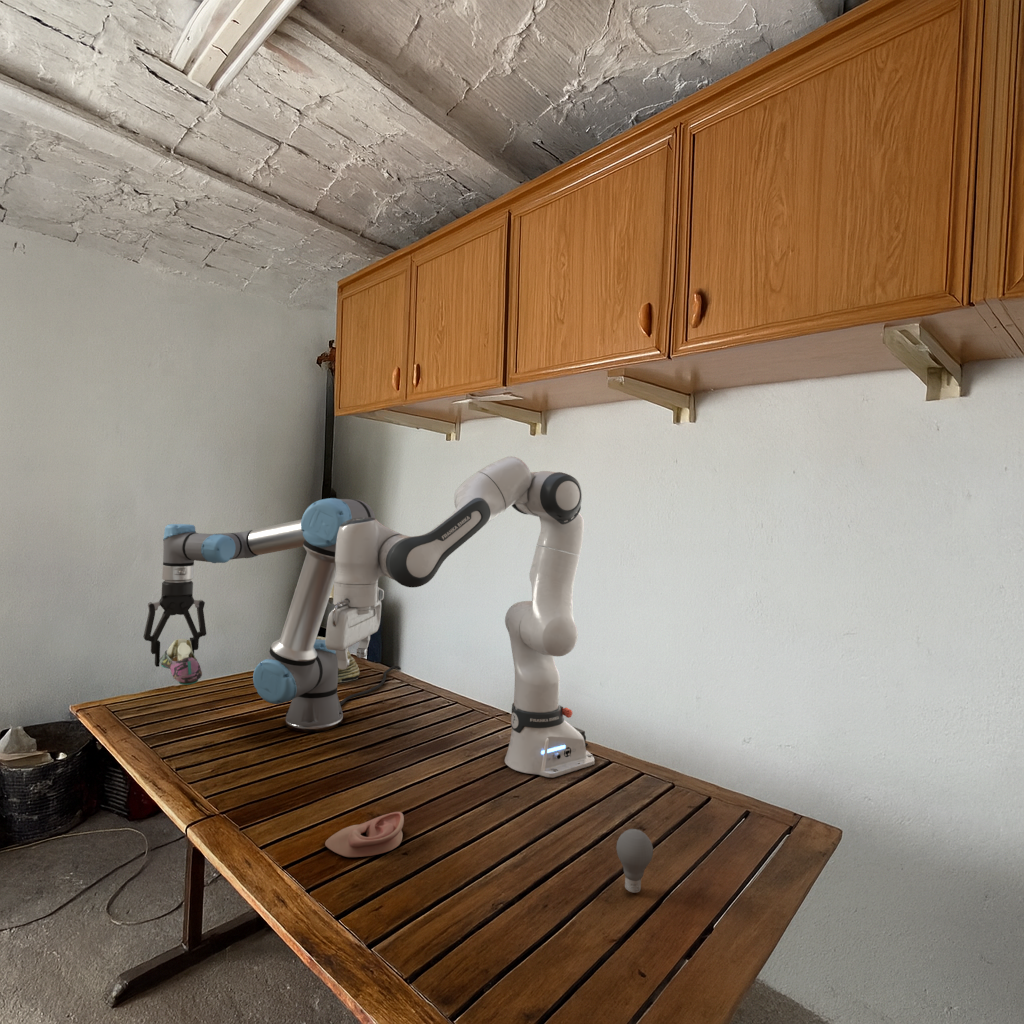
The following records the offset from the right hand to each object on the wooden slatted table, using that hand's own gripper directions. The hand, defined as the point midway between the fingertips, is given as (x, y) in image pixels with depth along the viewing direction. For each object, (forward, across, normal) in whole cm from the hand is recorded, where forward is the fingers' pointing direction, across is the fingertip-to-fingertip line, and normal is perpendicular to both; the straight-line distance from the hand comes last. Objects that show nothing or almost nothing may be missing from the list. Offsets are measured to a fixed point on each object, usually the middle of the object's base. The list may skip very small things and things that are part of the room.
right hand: (352, 662), depth 131 cm
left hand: (+14, +33, +65) cm, 74 cm away
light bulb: (+29, -18, -58) cm, 67 cm away
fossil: (+30, +80, +40) cm, 94 cm away
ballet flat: (+15, +27, +58) cm, 66 cm away
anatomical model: (+29, -13, -9) cm, 34 cm away
